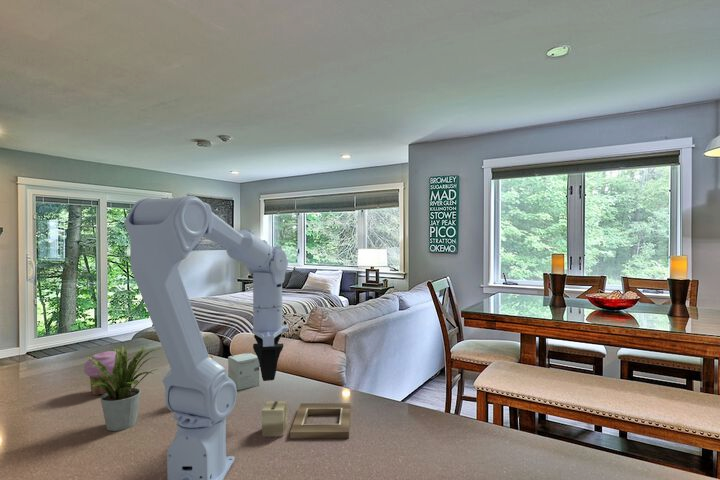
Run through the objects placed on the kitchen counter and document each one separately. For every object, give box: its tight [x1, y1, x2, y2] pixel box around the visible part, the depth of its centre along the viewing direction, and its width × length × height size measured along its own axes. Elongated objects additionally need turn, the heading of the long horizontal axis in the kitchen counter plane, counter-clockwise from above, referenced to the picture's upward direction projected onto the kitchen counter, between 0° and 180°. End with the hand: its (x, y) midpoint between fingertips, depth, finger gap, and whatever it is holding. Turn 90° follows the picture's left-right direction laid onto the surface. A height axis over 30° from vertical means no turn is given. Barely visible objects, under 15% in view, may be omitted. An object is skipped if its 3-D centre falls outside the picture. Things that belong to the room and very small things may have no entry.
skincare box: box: [227, 352, 260, 391], centre depth 103 cm, size 6×6×7 cm
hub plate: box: [289, 402, 352, 439], centre depth 81 cm, size 13×11×1 cm
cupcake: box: [83, 350, 116, 396], centre depth 99 cm, size 9×9×10 cm
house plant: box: [84, 342, 163, 432], centre depth 81 cm, size 14×14×16 cm
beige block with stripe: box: [261, 400, 288, 437], centre depth 78 cm, size 4×4×5 cm
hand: (268, 373), depth 80 cm, fingers open, 7 cm apart
